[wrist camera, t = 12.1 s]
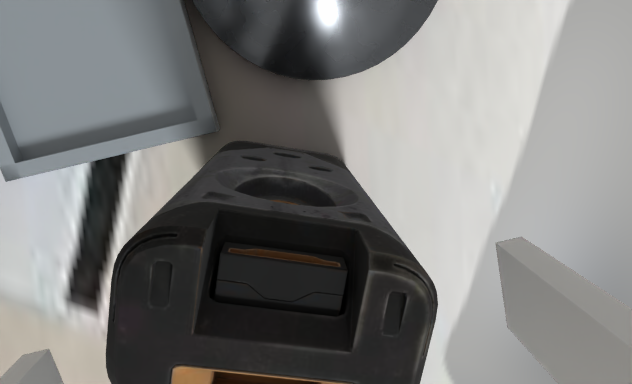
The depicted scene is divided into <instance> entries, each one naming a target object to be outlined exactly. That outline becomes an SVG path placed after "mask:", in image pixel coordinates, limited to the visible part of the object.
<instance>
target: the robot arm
mask: <svg viewBox="0 0 632 384" xmlns="http://www.w3.org/2000/svg"><path fill="white" fill-rule="evenodd" d="M496 250H497V257H498V265H499V272H500V279H501V285H502V293H503V300H504V307H505V314H506V321H507V327H508V328H509V329H510V330H511V332H512V333H513V334H514V335H515V336H516V337H517V338H518V340H520V342H521V343H522V344H523V345H524V346H525V347H526V348H527V350H528V351H529V352H530V353H531V354H532V355H533V356H534V357H535V358H536V360H537V361H538V362H539V363H540V364H541V365H542V366H543V367H544V368H545V370H546V371H547V372H548V373H549V374H550V375H551V376H552V377H553V379H554V380H555V381H556V382H557V383H558V384H632V309H631V308H629V307H628V306H626V305H625V304H623V303H622V302H620V301H619V300H617V299H615V298H614V297H613V296H611V295H610V294H608V293H606V292H605V291H603V290H602V289H600V288H599V287H597V286H596V285H594V284H593V283H591V282H590V281H588V280H587V279H585V278H584V277H582V276H581V275H579V274H578V273H576V272H575V271H573V270H572V269H570V268H568V267H567V266H565V265H564V264H562V263H561V262H559V261H558V260H556V259H555V258H553V257H552V256H550V255H549V254H547V253H546V252H544V251H543V250H541V249H540V248H538V247H536V246H535V245H533V244H532V243H530V242H529V241H527V240H526V239H524V238H523V237H518V238H514V239H509V240H505V241H501V242H497V243H496ZM0 384H64V383H63V381H62V378H61V376H60V374H59V371H58V369H57V367H56V364H55V362H54V359H53V357H52V355H51V352H50V350H49V349H46V350H42V351H38V352H33V353H29V354H25V355H22V356H21V357H20V358H19V359H18V360H17V361H16V363H15V364H14V365H13V366H12V367H11V368H10V369H9V370H8V371H7V372H6V373H5V374H4V375H3V376H2V377H1V378H0Z"/></svg>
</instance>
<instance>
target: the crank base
mask: <svg viewBox="0 0 632 384" xmlns="http://www.w3.org/2000/svg"><path fill="white" fill-rule="evenodd" d="M192 1H193V3H194V4H195V6H196V8H197V9H198V11H199V12H200V14H201V15H202V17H203V19H204V20H205V21H206V23H207V24H208V25H209V26H210V27H211V29H212V30H213V31H214V32H215V33H216V35H217V36H218V37H219V38H220V39H222V40H223V41H224V42H225V43H226V44H227V45H228V46H229V47H230V48H231V49H233V50H234V51H235V52H237V53H238V54H239V55H241V56H242V57H244V58H245V59H246V60H248V61H250V62H252V63H253V64H255V65H257V66H259V67H261V68H263V69H265V70H268V71H270V72H273V73H275V74H278V75H282V76H286V77H290V78H295V79H304V80H328V79H334V78H340V77H346V76H349V75H352V74H356V73H359V72H362V71H364V70H366V69H369V68H371V67H373V66H375V65H377V64H379V63H381V62H382V61H384V60H385V59H387V58H389V57H390V56H392V55H393V54H394V53H396V52H397V51H398V50H399V49H400V48H402V47H403V46H404V45H405V44H406V43H407V42H408V41H409V40H410V39H411V38H412V37H413V36H414V35H415V34H416V33H417V32H418V30H419V29H420V28H421V26H422V25H423V24H424V22H425V21H426V20H427V18H428V17H429V15H430V14H431V12H432V10H433V8H434V6H435V5H436V3H437V1H438V0H192Z"/></svg>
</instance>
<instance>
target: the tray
mask: <svg viewBox="0 0 632 384" xmlns="http://www.w3.org/2000/svg"><path fill="white" fill-rule="evenodd" d="M218 130H220V127H219V124H218V120H217V117H216V113H215V110H214V106H213V102H212V99H211V95H210V92H209V88H208V85H207V81H206V78H205V74H204V70H203V67H202V63H201V60H200V56H199V53H198V49H197V46H196V42H195V38H194V35H193V31H192V28H191V24H190V21H189V17H188V14H187V10H186V6H185V3H184V0H0V169H1V171H2V174H3V176H4V179H5V181H6V182H7V181H11V180H15V179H19V178H24V177H28V176H32V175H36V174H40V173H45V172H49V171H53V170H57V169H61V168H66V167H70V166H74V165H78V164H82V163H87V162H91V161H95V160H99V159H103V158H108V157H112V156H116V155H120V154H124V153H129V152H133V151H137V150H141V149H145V148H150V147H154V146H158V145H162V144H166V143H171V142H175V141H179V140H183V139H187V138H192V137H196V136H200V135H204V134H208V133H213V132H217V131H218Z"/></svg>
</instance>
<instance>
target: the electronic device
mask: <svg viewBox="0 0 632 384" xmlns="http://www.w3.org/2000/svg"><path fill="white" fill-rule="evenodd" d="M437 307H438V300H437V292H436V288H435V286H434V283H433V281H432V280H431V278H430V277H429V275H428V274H427V272H426V271H425V270H424V269H423V267H422V266H421V265H420V263H419V262H418V261H417V260H416V258H415V257H414V255H413V254H412V253H411V251H410V250H409V249H408V248H407V246H406V245H405V244H404V242H403V241H402V240H401V238H400V237H399V236H398V234H397V233H396V232H395V230H394V229H393V228H392V226H391V225H390V224H389V222H388V221H387V220H386V219H385V217H384V216H383V215H382V213H381V212H380V211H379V209H378V208H377V207H376V205H375V204H374V203H373V201H372V200H371V199H370V197H369V196H368V195H367V193H366V192H365V191H364V189H363V188H362V187H361V186H360V184H359V183H358V182H357V180H356V179H355V178H354V176H353V175H352V174H351V172H350V171H349V170H348V168H347V167H346V166H345V164H344V163H343V162H342V161H341V160H340V159H338V158H336V157H334V156H331V155H328V154H323V153H316V152H310V151H304V150H297V149H291V148H285V147H279V146H272V145H266V144H260V143H253V142H247V141H235V142H231V143H229V144H227V145H225V146H224V147H223V148H222V149H221V150H220V151H219V152H218V153H217V154H216V155H215V156H214V157H213V158H212V159H211V160H210V161H209V162H208V163H207V164H206V165H205V166H204V167H203V168H202V169H201V170H200V171H199V172H198V173H197V174H196V175H195V176H194V177H193V178H192V179H191V180H190V181H189V182H188V183H187V184H186V185H185V186H184V187H183V188H182V189H180V190H179V191H178V192H177V193H176V194H175V195H174V196H173V197H172V198H171V199H170V200H169V201H168V202H167V203H166V204H165V205H164V206H163V207H162V208H161V209H160V210H159V211H158V212H157V213H156V214H155V215H154V216H153V217H152V218H151V219H150V220H149V221H148V222H147V223H146V224H145V225H144V226H143V227H142V228H141V229H140V230H139V231H138V232H137V233H136V234H135V235H134V236H133V237H132V238H131V239H130V240H129V241H128V242H127V243H126V244H125V245H124V246H123V248H122V249H121V251H120V253H119V254H118V256H117V258H116V261H115V264H114V268H113V274H112V280H111V293H110V306H109V319H108V332H107V345H106V368H107V373H108V377H109V379H110V382H111V384H420V381H421V377H422V373H423V369H424V365H425V361H426V357H427V353H428V348H429V344H430V340H431V336H432V332H433V328H434V324H435V320H436V313H437Z"/></svg>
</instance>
